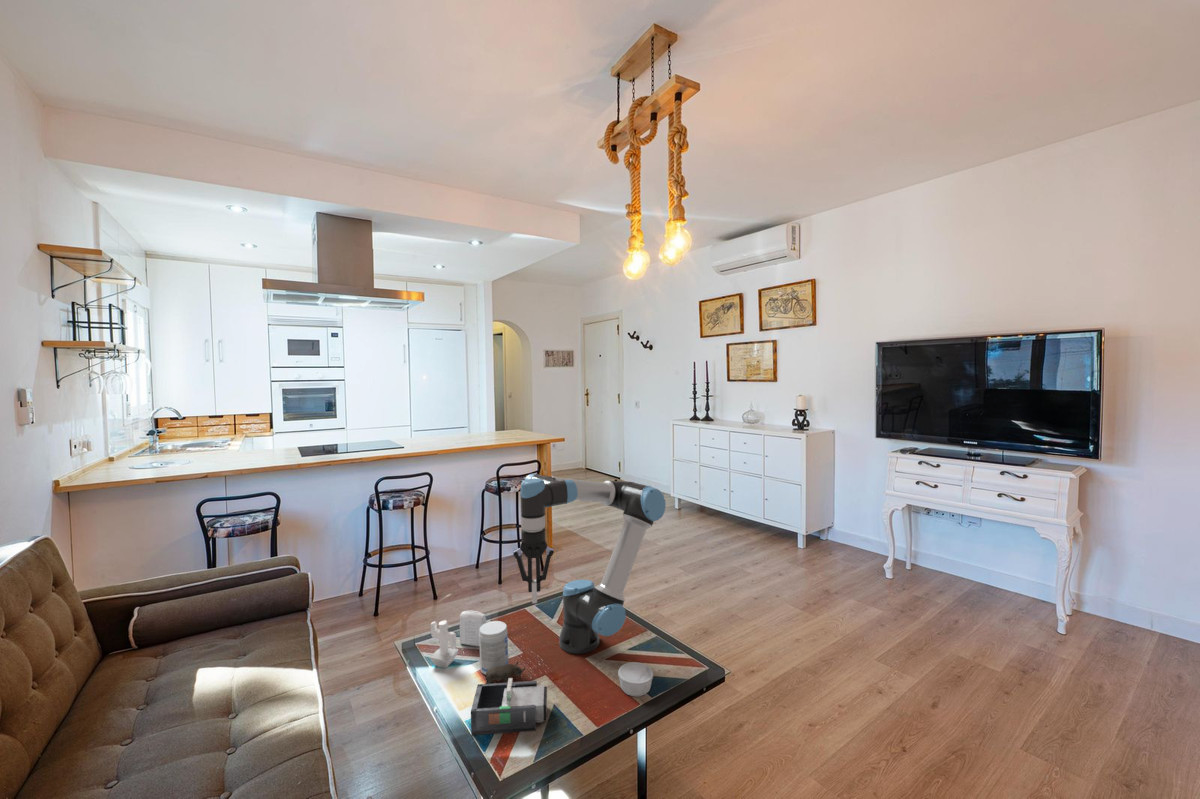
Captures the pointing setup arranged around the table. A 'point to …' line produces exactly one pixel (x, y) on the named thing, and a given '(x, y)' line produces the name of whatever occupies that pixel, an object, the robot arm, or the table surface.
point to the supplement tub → (493, 645)
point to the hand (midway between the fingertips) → (534, 601)
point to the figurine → (443, 645)
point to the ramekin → (635, 678)
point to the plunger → (527, 698)
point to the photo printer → (471, 627)
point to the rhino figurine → (502, 673)
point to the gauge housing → (500, 711)
